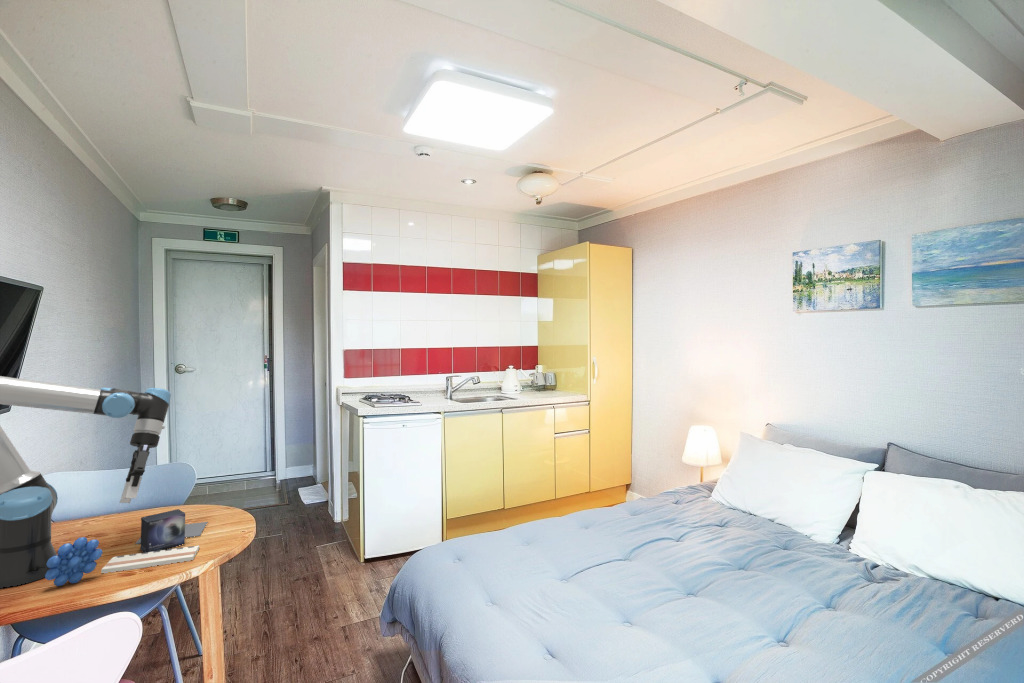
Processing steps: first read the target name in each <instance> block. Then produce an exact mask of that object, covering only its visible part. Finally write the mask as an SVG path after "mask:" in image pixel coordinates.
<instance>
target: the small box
mask: <svg viewBox="0 0 1024 683" xmlns="http://www.w3.org/2000/svg"><path fill="white" fill-rule="evenodd" d="M185 524H186V512H184V511H182V510H181V509H178V508H176V509H173V510H168V511H164V512H160V513H154V514H150V515H146V516H145V515H144V516H142V517H140V537H141V544H140V547H139V550H140V551H141V552H142V553H146V552H153V551H161V550H165V549H167V550H168V549H169V548H170V549H173V548H172V547H174V548H177V547H176V546H178V547H180V546H179V545H181V546H183V545H182V544H185V542H186V541H185V539H186V538H185Z"/></svg>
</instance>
